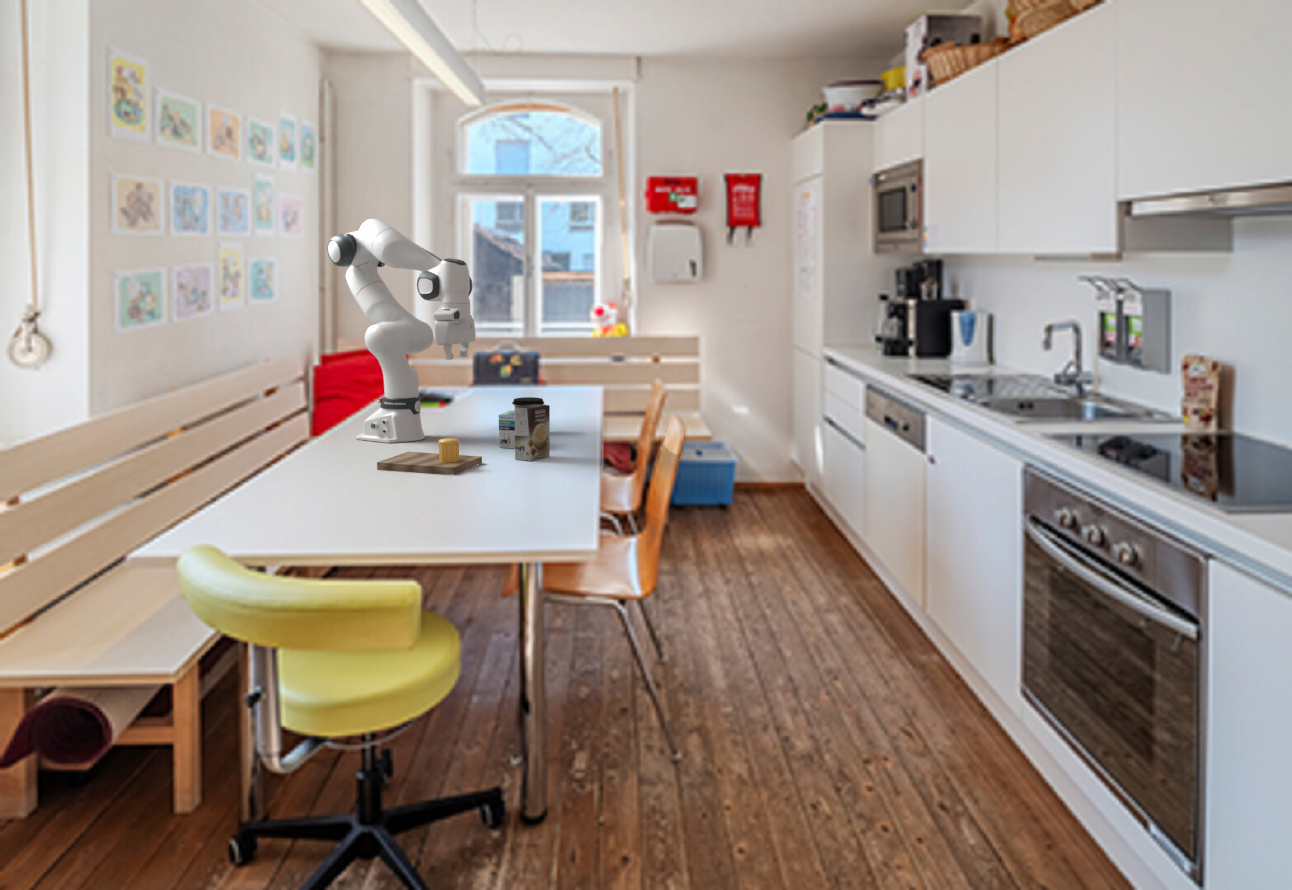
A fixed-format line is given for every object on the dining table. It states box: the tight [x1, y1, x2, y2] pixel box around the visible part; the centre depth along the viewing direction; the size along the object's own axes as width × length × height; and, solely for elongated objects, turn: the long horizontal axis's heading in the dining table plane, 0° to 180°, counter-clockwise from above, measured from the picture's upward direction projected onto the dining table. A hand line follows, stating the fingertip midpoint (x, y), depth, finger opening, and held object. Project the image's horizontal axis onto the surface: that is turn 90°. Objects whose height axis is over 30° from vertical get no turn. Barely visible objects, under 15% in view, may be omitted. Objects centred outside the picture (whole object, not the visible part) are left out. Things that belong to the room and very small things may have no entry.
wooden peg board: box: [376, 451, 483, 475], centre depth 295 cm, size 24×18×6 cm
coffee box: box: [514, 404, 551, 462], centre depth 308 cm, size 9×6×16 cm
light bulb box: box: [498, 410, 515, 449], centre depth 329 cm, size 11×7×11 cm, turn 168°
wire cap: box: [438, 437, 460, 463], centre depth 293 cm, size 6×6×6 cm
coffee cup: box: [512, 396, 545, 407], centre depth 353 cm, size 11×11×12 cm
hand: (456, 358), depth 314 cm, fingers open, 8 cm apart
